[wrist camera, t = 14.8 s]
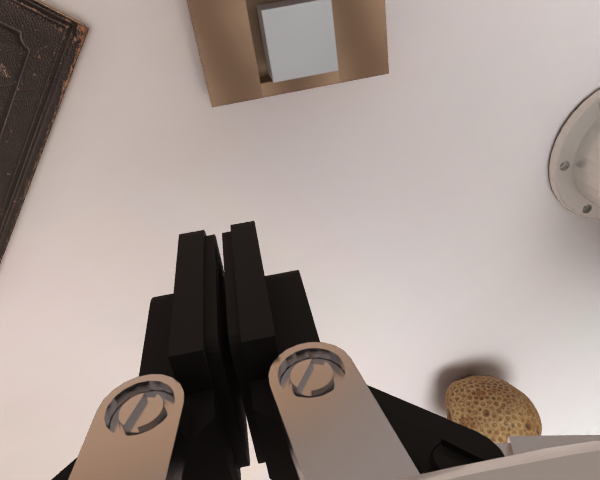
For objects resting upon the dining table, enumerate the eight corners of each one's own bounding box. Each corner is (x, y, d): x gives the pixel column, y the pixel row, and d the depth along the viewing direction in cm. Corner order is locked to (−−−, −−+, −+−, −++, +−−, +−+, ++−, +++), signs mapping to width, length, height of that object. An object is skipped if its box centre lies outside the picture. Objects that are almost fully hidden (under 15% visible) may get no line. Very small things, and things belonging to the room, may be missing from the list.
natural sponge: (491, 412, 59) (540, 490, 51) (419, 416, 58) (458, 498, 49) (515, 352, 55) (574, 426, 47) (439, 354, 53) (485, 432, 45)
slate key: (320, -6, 31) (331, -2, 29) (327, 60, 34) (338, 70, 31) (256, 5, 31) (261, 10, 29) (267, 72, 33) (273, 82, 31)
